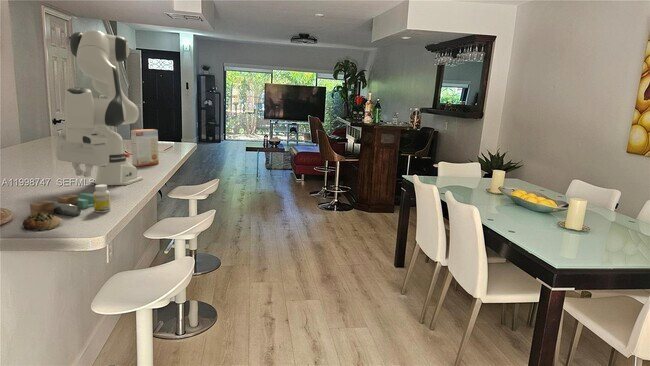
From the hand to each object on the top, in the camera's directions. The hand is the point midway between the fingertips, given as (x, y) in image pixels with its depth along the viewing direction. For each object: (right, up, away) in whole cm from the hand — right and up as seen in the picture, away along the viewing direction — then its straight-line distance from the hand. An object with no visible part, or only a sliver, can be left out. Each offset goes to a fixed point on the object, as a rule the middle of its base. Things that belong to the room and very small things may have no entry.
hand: (83, 175), depth 147 cm
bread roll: (-9, -17, -7) cm, 21 cm away
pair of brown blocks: (-14, -13, +7) cm, 21 cm away
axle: (-10, -14, +6) cm, 18 cm away
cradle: (-10, -11, +19) cm, 24 cm away
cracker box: (-23, +8, +105) cm, 108 cm away
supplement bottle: (0, -13, +12) cm, 18 cm away
